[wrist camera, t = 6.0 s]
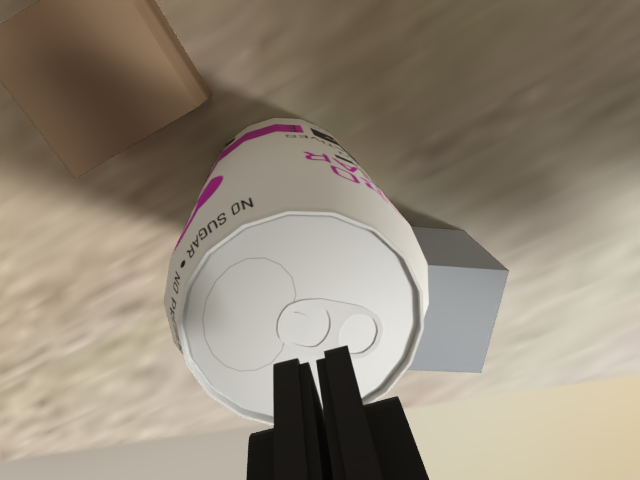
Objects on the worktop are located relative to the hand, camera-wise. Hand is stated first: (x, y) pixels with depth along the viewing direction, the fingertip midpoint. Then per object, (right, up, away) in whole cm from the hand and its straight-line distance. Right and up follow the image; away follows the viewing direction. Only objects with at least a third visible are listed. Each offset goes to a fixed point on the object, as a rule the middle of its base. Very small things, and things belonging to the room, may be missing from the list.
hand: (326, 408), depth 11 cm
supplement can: (-2, +7, +17) cm, 19 cm away
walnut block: (-10, +12, +14) cm, 21 cm away
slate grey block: (+5, +2, +20) cm, 21 cm away
